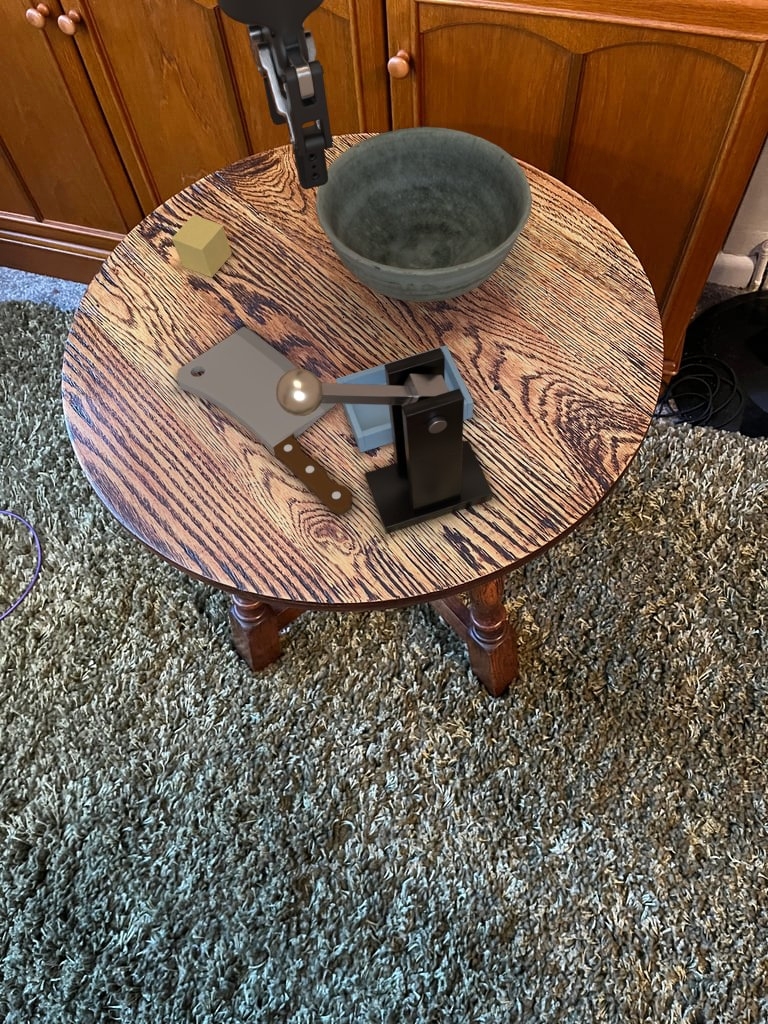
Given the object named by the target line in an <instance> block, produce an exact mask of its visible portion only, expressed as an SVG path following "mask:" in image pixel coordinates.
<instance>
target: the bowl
mask: <svg viewBox="0 0 768 1024" xmlns="http://www.w3.org/2000/svg"><path fill="white" fill-rule="evenodd" d="M327 172H328V182H327V183H326V184H325V185H322V186H318V188H317V190H316V199H315V212H316V216H317V221H318V225H319V226H320V228H321V230H322V231H323V232H324V235H325V236H326V238H327V240H329V242H330V244H331V247H332V249H333V250H334V252H335V253H336V255H337V257H338V258H339V260H340V261H341V263H342V264H343V265H344V266H345V268H346V269H347V270H348V271H349V273H350V274H351V275H353V277H355V278H356V279H357V280H358V281H359V282H360V283H361V284H363V285H364V286H366V287H367V288H370V289H371V290H372V291H374V292H376V293H378V294H380V295H383V296H385V297H388V298H391V299H394V300H399V301H404V302H410V303H434V302H442V301H443V302H445V301H448V300H450V299H453V298H456V297H459V296H462V295H464V294H466V293H469V292H471V291H473V290H475V289H477V288H479V287H480V286H481V285H482V284H484V283H485V282H486V281H487V280H488V279H490V278H491V277H492V276H493V274H495V272H496V271H497V270H498V269H499V268H500V267H501V266H502V264H503V263H504V262H505V261H506V260H507V257H508V256H509V254H510V253H511V251H512V249H513V247H514V246H515V243H516V242H517V240H518V237H519V235H520V234H521V233H522V232H523V230H524V228H525V227H526V224H527V222H528V220H529V219H530V216H531V212H532V205H533V196H532V191H531V187H530V186H531V185H530V182H529V180H528V178H527V176H526V173H525V171H524V169H523V168H522V167H521V166H520V164H519V163H518V161H517V160H516V159H515V158H514V157H513V156H512V155H511V154H509V153H508V152H507V151H506V150H504V149H503V148H502V147H501V146H498V145H497V144H495V143H493V142H491V141H489V140H487V139H484V138H482V137H480V136H477V135H474V134H471V133H468V132H465V131H462V130H455V129H450V128H445V127H435V126H434V127H433V126H432V127H431V126H417V127H409V128H408V127H407V128H400V129H396V130H391V131H390V130H389V131H386V132H381V133H379V134H375V135H373V136H371V137H368V138H365V139H362V140H361V141H359V142H358V143H356V144H354V145H352V146H350V147H348V148H347V149H346V150H344V151H343V152H342V153H341V154H340V155H339V156H338V157H337V158H336V159H335V160H334V161H333V162H332V163H330V166H329V167H327Z"/></svg>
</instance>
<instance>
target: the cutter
mask: <svg viewBox="0 0 768 1024" xmlns="http://www.w3.org/2000/svg"><path fill="white" fill-rule="evenodd" d="M436 348H437V349H435V348H433V349H434V350H432V349H430V350H431V351H429V350H426V351H427V352H425V351H423V352H424V353H422V352H420V353H421V354H419V353H417V354H418V355H415V354H413V355H414V356H412V355H410V356H411V357H409V356H407V357H408V358H406V357H403V358H404V359H402V358H400V359H401V360H399V359H397V360H398V361H396V360H394V361H395V362H393V361H390V362H391V363H389V362H387V363H388V364H386V363H384V364H385V365H384V367H385V376H386V385H399V386H403V385H404V383H405V381H406V380H407V378H408V376H409V374H432V375H442V377H443V379H444V381H445V356H444V354H443V352H442V350H441V348H438V347H436ZM389 412H390V421H391V430H392V439H393V443H392V447H393V455H394V456H393V457H394V463H392V464H388V465H386V466H382V467H379V468H376V469H373V470H370V471H367V472H364V478H365V482H366V485H367V487H368V490H369V492H370V493H369V494H370V496H371V498H372V502H373V503H374V507H375V509H376V511H377V514H378V517H379V520H380V522H381V525H382V528H383V531H384V533H385V534H386V535H388V534H391V533H395V532H398V531H400V530H404V529H406V528H410V527H413V526H416V525H419V524H422V523H425V522H428V521H431V520H434V519H438V518H440V517H443V516H447V515H450V514H453V513H456V512H458V511H462V510H464V509H468V508H471V507H475V506H477V505H481V504H483V503H486V502H490V501H492V500H493V495H494V493H493V491H492V488H491V486H490V484H489V482H488V480H487V477H486V475H485V473H484V471H483V469H482V467H481V464H480V462H479V460H478V458H477V455H476V453H475V452H474V449H473V447H472V445H471V443H470V441H469V439H468V440H467V439H466V440H464V420H463V418H464V397H463V395H462V393H461V390H460V389H456V390H453V391H450V392H446V393H443V394H440V395H437V396H433V397H430V398H427V399H424V400H421V401H417V402H414V403H411V404H408V405H404V406H402V405H389Z"/></svg>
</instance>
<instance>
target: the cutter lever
mask: <svg viewBox="0 0 768 1024" xmlns="http://www.w3.org/2000/svg"><path fill="white" fill-rule="evenodd" d="M446 392H449V390H448V387H447V385H446V383H445V381H444V379H443V377H442V375H432V374H409V376H408V378H407V380H406V381H405V383H404V385H403V386H399V385H371V384H344V383H336V382H322V381H321V380H320V378H319V377H318V376H317V375H316V374H315V373H314V372H312V371H311V370H308V369H306V368H298V369H293V370H290V371H288V372H286V373H285V374H284V375H283V376H282V377H281V378H280V379H279V381H278V383H277V387H276V397H277V401H278V403H279V405H280V406H281V407H282V409H283V410H285V411H286V412H287V413H289V414H291V415H294V416H306V415H309V414H311V413H313V412H314V411H315V410H316V409H317V408H318V407H319V406H320V404H321V403H323V404H336V405H342V404H370V405H402V406H404V405H408V404H411V403H414V402H417V401H421V400H424V399H427V398H430V397H433V396H437V395H440V394H443V393H446Z"/></svg>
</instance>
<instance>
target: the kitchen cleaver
mask: <svg viewBox="0 0 768 1024" xmlns="http://www.w3.org/2000/svg"><path fill="white" fill-rule="evenodd" d="M293 369H299V368H298V367H297V366H296V365H295V364H294V363H293V362H292V361H291V360H290V359H289V358H288V357H286V356H285V355H283V354H282V353H281V352H280V351H279V350H278V349H276V348H274V347H273V346H272V345H271V344H269V343H268V342H266V341H265V340H264V339H262V338H261V337H260V336H259V335H258V334H256V333H255V332H253V331H252V330H251V329H250V328H248V327H245V326H242V327H240V328H239V329H238V330H236V331H235V332H234V333H232V334H231V335H229V336H227V337H226V338H224V339H223V340H221V341H219V342H218V343H217V344H215V345H213V346H212V347H210V348H209V349H208V350H205V351H204V352H203V353H201V354H200V355H198V356H197V357H195V358H193V359H192V360H190V361H189V362H188V363H186V364H184V365H183V366H182V367H180V368H178V369H177V384H178V386H179V388H180V390H183V391H186V392H189V393H190V394H193V395H196V396H198V397H201V398H203V399H204V400H206V401H208V402H209V403H211V404H213V405H214V406H216V407H218V408H220V409H221V410H222V411H225V412H226V413H227V414H228V415H230V416H231V417H232V418H234V419H235V420H236V421H237V422H239V423H240V424H241V425H242V426H244V427H245V428H246V429H247V430H248V431H249V432H250V433H251V434H252V435H254V436H255V438H257V440H259V441H260V442H261V443H262V444H263V445H264V446H265V447H266V448H267V449H269V450H270V451H271V452H272V453H273V454H274V456H275V457H276V458H277V459H278V460H279V461H280V462H281V463H282V464H283V465H284V466H285V467H286V468H287V469H288V470H289V471H290V472H291V473H292V474H293V475H294V476H295V477H296V478H297V479H298V480H299V481H300V482H301V483H302V484H303V485H304V486H305V487H306V488H307V489H308V490H309V491H310V492H311V493H312V494H313V495H314V496H315V497H317V499H318V500H319V501H320V502H321V503H322V504H324V506H325V507H326V508H327V509H328V510H329V511H330V512H332V513H333V514H335V515H337V516H343V515H345V514H347V513H348V512H349V511H351V509H352V507H353V493H352V492H351V490H349V489H348V488H347V487H346V486H345V485H342V484H339V483H336V482H335V481H334V480H332V479H331V477H329V475H328V473H327V471H326V470H325V469H324V468H323V467H322V466H321V465H320V463H318V462H317V461H316V460H315V459H313V458H311V457H309V456H308V455H306V454H305V453H304V451H303V450H302V447H301V444H300V442H299V441H298V440H296V439H298V438H299V436H301V435H302V434H303V433H305V431H307V430H308V429H309V428H310V427H311V426H312V425H313V424H315V423H316V422H317V421H318V420H319V419H321V418H322V417H323V416H324V415H325V414H327V413H328V412H329V411H330V410H332V409H333V408H335V407H336V405H337V404H323V403H321V404H320V406H319V407H318V408H317V409H316V410H315V411H314V412H313V413H311V414H309V415H306V416H294V415H291V414H289V413H287V412H286V411H285V410H283V409H282V407H281V406H280V405H279V403H278V401H277V397H276V387H277V383H278V381H279V379H280V378H281V377H282V376H283V375H284V374H285V373H286V372H288V371H290V370H293ZM199 372H202V373H203V374H201V375H200V376H195V375H196V374H197V373H199Z"/></svg>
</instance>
